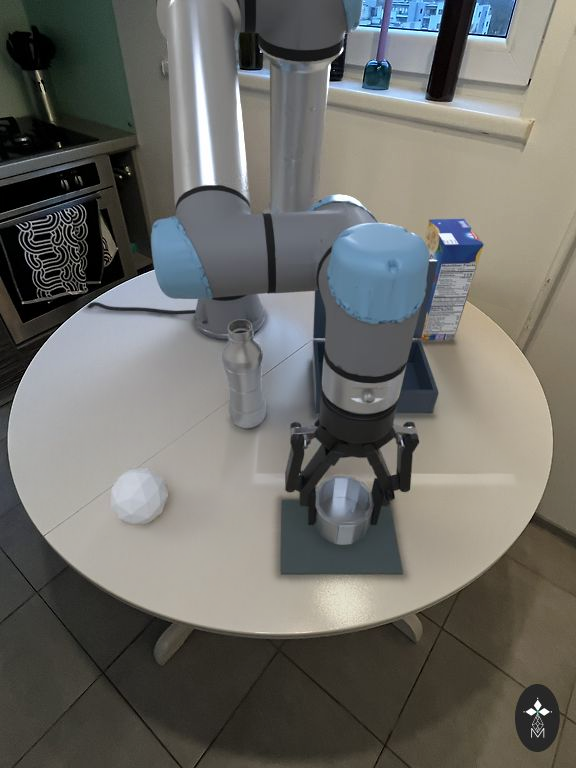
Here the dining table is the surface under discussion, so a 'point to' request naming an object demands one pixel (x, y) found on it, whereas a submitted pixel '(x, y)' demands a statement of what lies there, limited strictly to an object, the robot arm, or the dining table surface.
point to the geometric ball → (138, 496)
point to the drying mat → (336, 546)
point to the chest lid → (320, 317)
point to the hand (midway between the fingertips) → (341, 515)
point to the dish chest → (415, 387)
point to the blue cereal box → (450, 274)
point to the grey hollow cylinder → (343, 509)
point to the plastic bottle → (244, 375)
